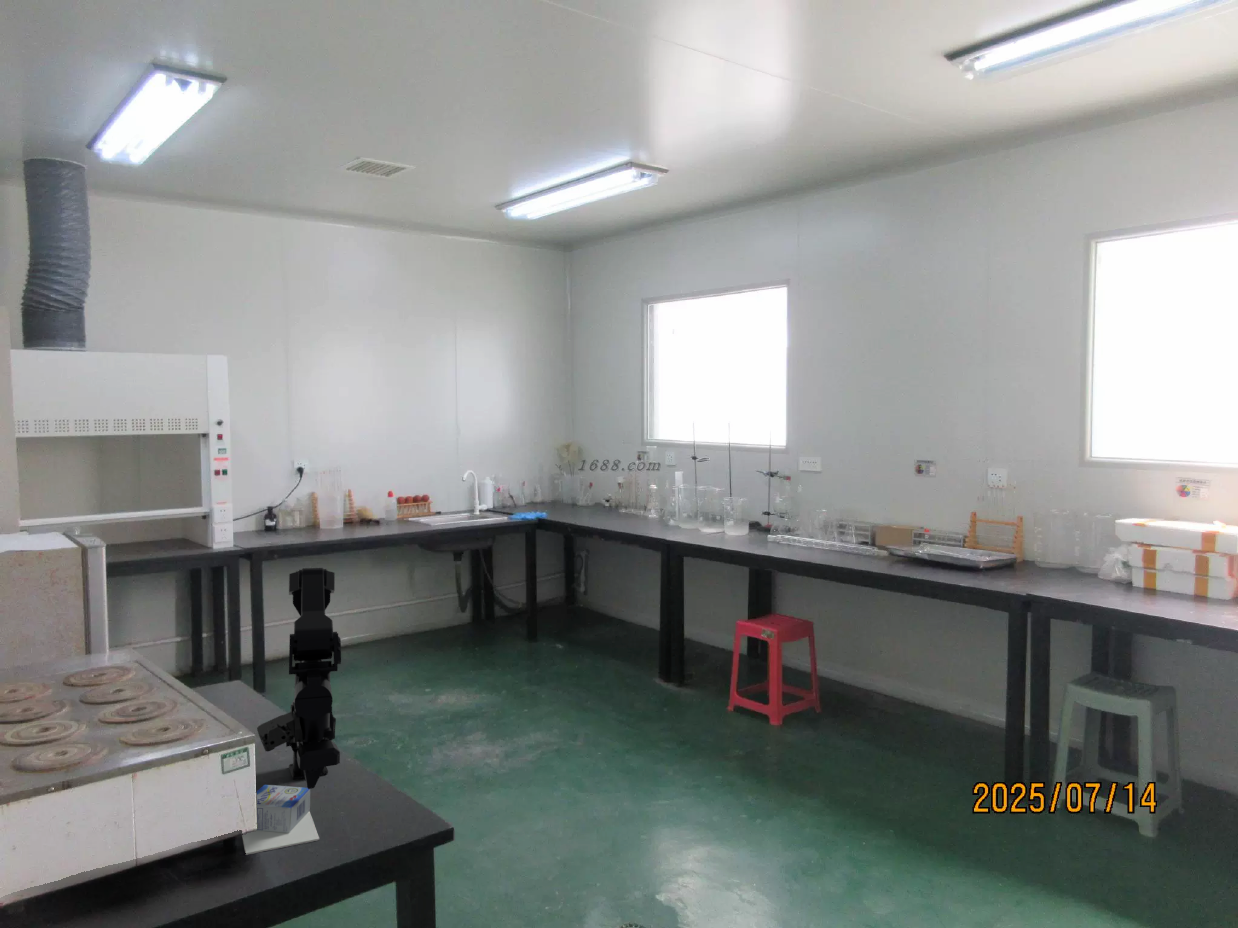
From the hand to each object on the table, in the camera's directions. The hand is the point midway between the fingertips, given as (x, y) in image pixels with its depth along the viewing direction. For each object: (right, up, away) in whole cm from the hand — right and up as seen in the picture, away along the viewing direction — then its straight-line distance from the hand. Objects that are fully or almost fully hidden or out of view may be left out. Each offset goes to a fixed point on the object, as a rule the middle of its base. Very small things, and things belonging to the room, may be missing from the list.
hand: (310, 787), depth 143 cm
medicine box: (-2, -4, 0) cm, 4 cm away
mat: (-5, -6, -2) cm, 8 cm away
